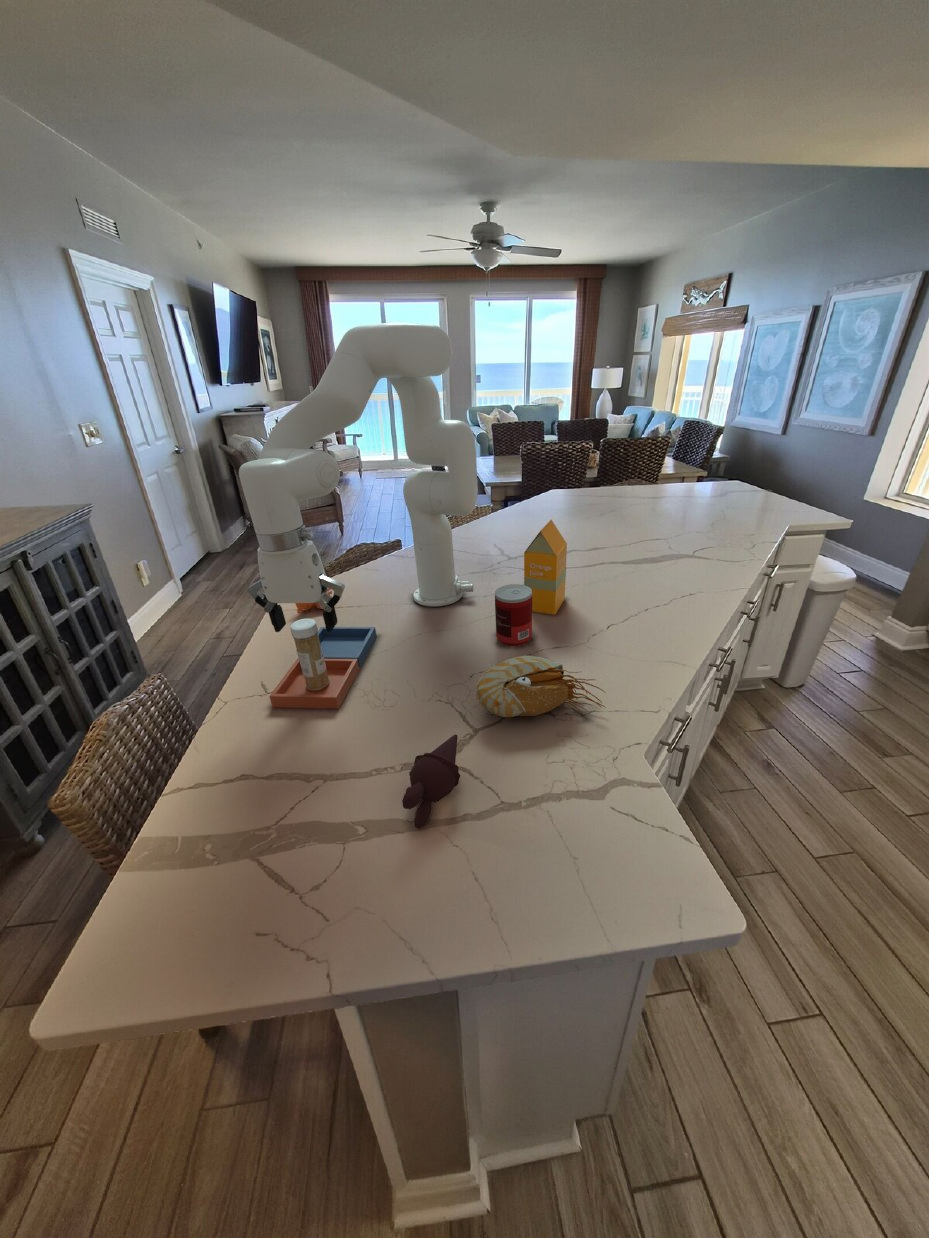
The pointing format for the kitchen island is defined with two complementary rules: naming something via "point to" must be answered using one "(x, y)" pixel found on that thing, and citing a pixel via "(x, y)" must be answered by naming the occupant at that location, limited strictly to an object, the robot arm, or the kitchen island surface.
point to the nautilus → (528, 687)
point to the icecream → (432, 780)
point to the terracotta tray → (298, 696)
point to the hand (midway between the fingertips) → (306, 628)
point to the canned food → (513, 614)
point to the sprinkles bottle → (310, 654)
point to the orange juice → (546, 569)
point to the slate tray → (347, 642)
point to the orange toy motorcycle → (309, 604)
